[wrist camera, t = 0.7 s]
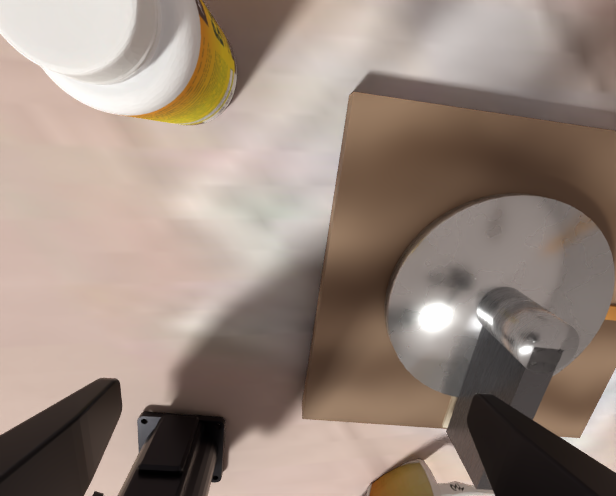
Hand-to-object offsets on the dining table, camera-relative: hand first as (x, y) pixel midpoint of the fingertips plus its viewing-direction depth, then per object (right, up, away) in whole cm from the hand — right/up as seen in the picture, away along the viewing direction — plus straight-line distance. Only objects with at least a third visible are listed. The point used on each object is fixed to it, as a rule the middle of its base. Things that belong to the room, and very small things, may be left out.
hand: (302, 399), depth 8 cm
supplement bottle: (-6, +14, +10) cm, 18 cm away
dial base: (+12, +1, +14) cm, 19 cm away
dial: (+12, -1, +13) cm, 18 cm away
